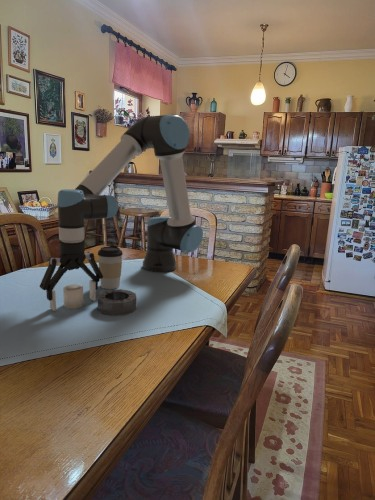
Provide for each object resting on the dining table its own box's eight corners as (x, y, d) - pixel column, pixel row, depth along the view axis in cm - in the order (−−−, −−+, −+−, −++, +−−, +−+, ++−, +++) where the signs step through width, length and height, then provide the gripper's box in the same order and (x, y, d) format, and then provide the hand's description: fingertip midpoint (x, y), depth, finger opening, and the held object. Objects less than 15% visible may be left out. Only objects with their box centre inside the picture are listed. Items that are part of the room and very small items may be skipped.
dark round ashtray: (122, 297, 123) (122, 287, 122) (143, 309, 115) (143, 297, 114) (91, 306, 115) (90, 294, 114) (110, 318, 107) (110, 306, 106)
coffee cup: (116, 291, 129) (117, 251, 126) (93, 288, 131) (93, 248, 127) (126, 283, 138) (126, 245, 134) (104, 281, 139) (103, 243, 136)
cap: (78, 300, 119) (77, 282, 118) (86, 306, 115) (86, 287, 114) (60, 304, 115) (60, 286, 114) (69, 310, 111) (68, 291, 110)
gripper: (101, 234, 121) (102, 292, 126) (25, 242, 104) (29, 309, 109) (113, 238, 116) (113, 299, 121) (35, 247, 99) (39, 317, 104)
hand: (73, 304), depth 115 cm, fingers open, 13 cm apart
